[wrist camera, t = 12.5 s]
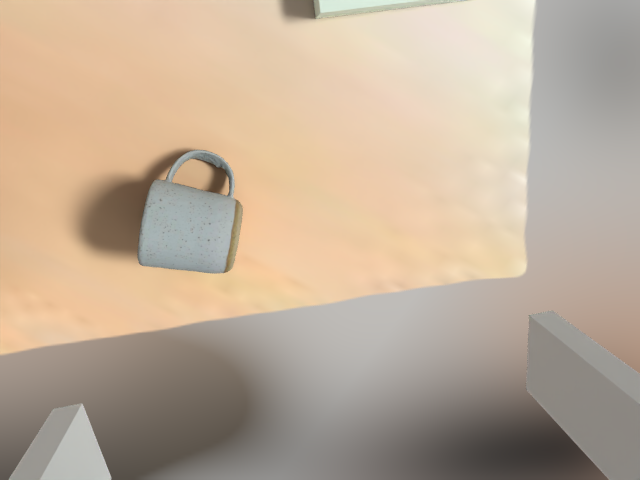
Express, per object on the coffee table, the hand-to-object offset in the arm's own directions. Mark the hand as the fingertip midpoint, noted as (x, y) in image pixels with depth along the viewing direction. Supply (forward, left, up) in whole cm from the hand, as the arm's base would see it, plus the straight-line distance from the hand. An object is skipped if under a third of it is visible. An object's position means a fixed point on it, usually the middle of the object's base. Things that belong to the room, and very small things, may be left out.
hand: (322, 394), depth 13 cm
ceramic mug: (-8, -1, -32) cm, 33 cm away
